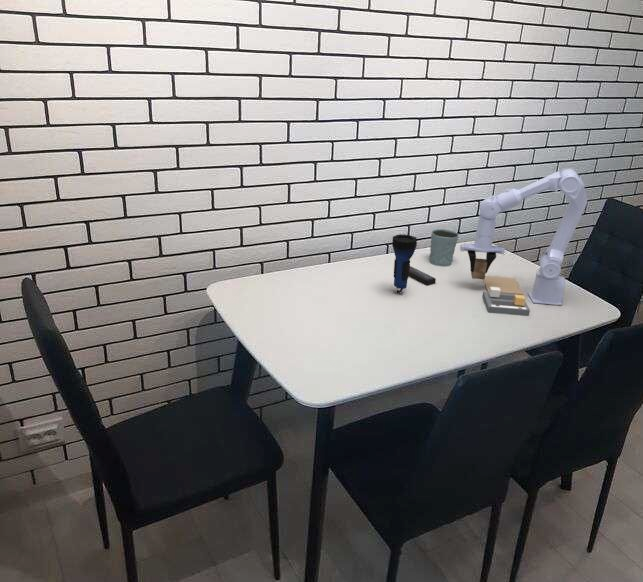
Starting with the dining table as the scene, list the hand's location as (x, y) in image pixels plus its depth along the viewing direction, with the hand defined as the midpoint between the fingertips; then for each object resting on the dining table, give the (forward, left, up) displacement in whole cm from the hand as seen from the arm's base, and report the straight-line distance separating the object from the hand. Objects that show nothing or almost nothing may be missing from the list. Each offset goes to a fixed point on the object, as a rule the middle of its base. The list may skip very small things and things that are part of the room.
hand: (478, 271), depth 200 cm
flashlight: (+27, +9, -7) cm, 29 cm away
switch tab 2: (-11, +14, -4) cm, 19 cm away
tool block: (0, 0, -2) cm, 2 cm away
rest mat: (-10, -5, -7) cm, 13 cm away
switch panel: (-8, +12, -7) cm, 16 cm away
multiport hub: (+20, -6, -7) cm, 22 cm away
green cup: (+10, -24, -7) cm, 27 cm away
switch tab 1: (-4, +10, -4) cm, 11 cm away
